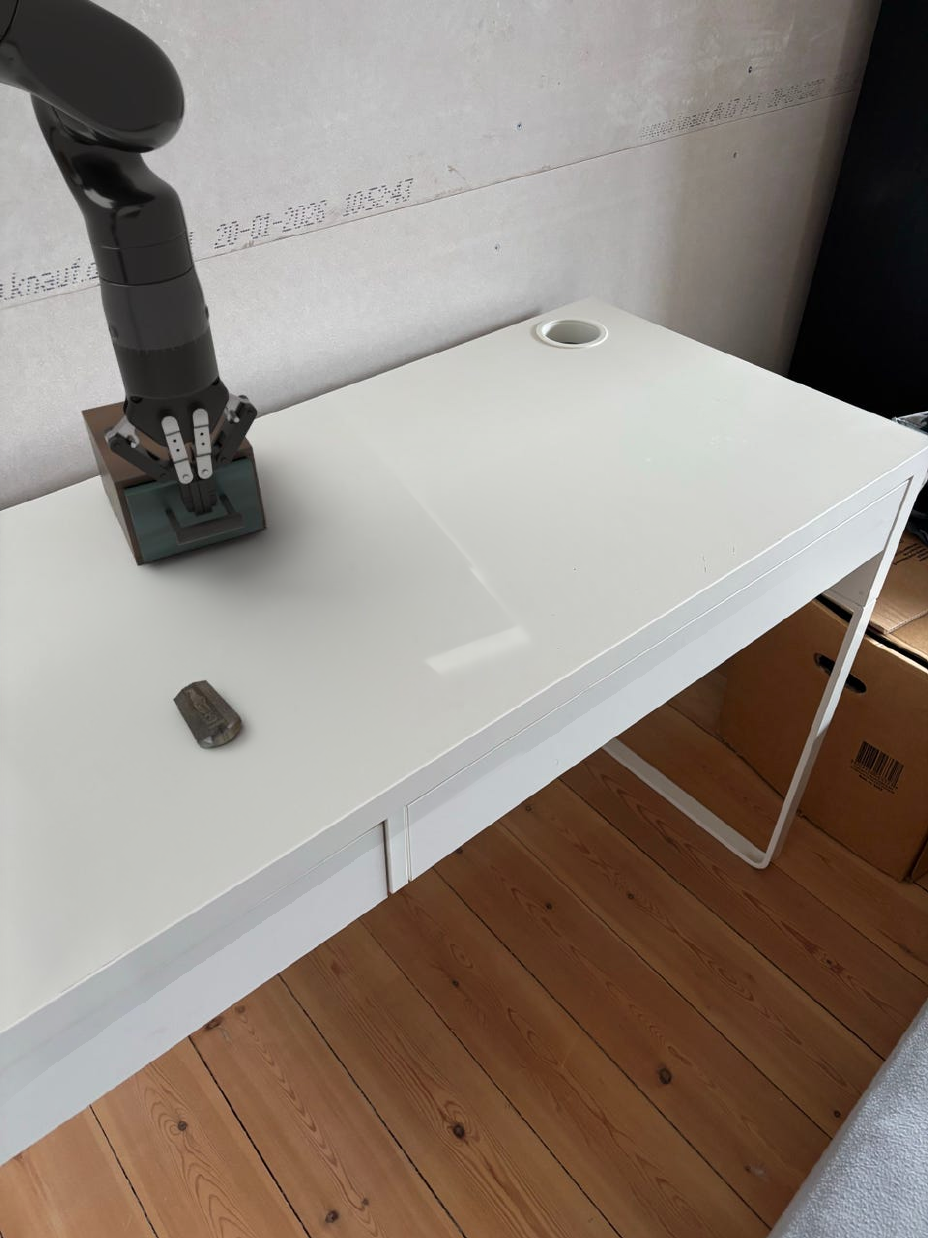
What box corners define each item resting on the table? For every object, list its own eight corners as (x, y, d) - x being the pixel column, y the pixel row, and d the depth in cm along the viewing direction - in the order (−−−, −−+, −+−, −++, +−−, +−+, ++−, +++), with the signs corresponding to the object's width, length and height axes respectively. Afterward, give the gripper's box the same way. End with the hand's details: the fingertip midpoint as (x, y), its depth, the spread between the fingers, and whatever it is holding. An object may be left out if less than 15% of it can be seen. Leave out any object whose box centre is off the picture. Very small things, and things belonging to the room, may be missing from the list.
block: (210, 690, 78) (206, 673, 77) (248, 732, 75) (245, 715, 74) (169, 711, 77) (164, 694, 75) (206, 755, 73) (202, 738, 72)
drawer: (280, 555, 90) (269, 489, 86) (157, 592, 87) (139, 524, 82) (222, 463, 103) (210, 400, 98) (113, 491, 99) (94, 427, 94)
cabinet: (267, 528, 95) (252, 446, 89) (137, 565, 91) (113, 482, 85) (223, 459, 105) (207, 381, 99) (104, 489, 101) (81, 410, 95)
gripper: (228, 291, 81) (259, 471, 92) (63, 324, 76) (117, 509, 87) (256, 325, 76) (286, 511, 87) (82, 362, 71) (137, 554, 82)
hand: (201, 510), depth 87 cm, fingers closed
